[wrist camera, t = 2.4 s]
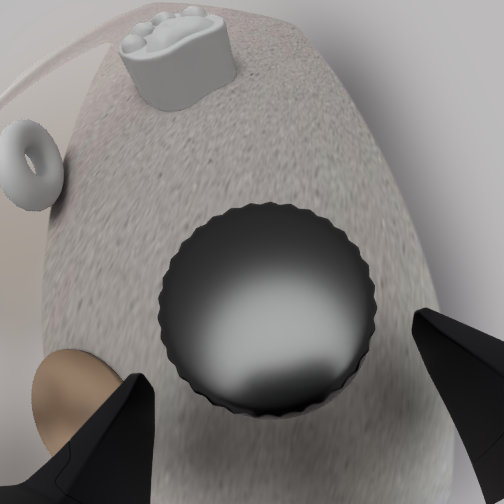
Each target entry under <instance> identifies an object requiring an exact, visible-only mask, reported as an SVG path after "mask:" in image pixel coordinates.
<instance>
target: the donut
mask: <svg viewBox="0 0 504 504" xmlns="http://www.w3.org/2000/svg"><path fill="white" fill-rule="evenodd" d="M25 154H26V155H27V156H28V157H29V158H30V159H31V161H32V163H33V165H34V168H35V171H36V175H35V174H34V173H33V172H32V170H31V169H30V167H29V166H28V164H27V161H26V158H25ZM63 182H64V168H63V163H62V158H61V155H60V153H59V150H58V147H57V145H56V144H55V142H54V140H53V138H52V137H51V136H50V134H49V133H48V132H47V130H46V129H44V128H43V127H42V126H41V125H40V124H39V123H36V122H34V121H32V120H26V119H25V120H23V119H21V120H17V121H15V122H13V123H11V124H9V125H8V126H6V128H5V129H4V130H3V131H2V133H1V135H0V187H1V188H2V190H3V192H4V193H5V195H6V196H7V197H8V198H9V199H10V200H11V201H12V202H13V203H14V204H15V205H16V206H18V207H20V208H22V209H25V210H26V211H42V210H44V209H46V208H48V207H50V206H52V205H53V204H54V203H55V201H56V200H57V198H58V197H59V195H60V193H61V190H62V186H63Z"/></svg>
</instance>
